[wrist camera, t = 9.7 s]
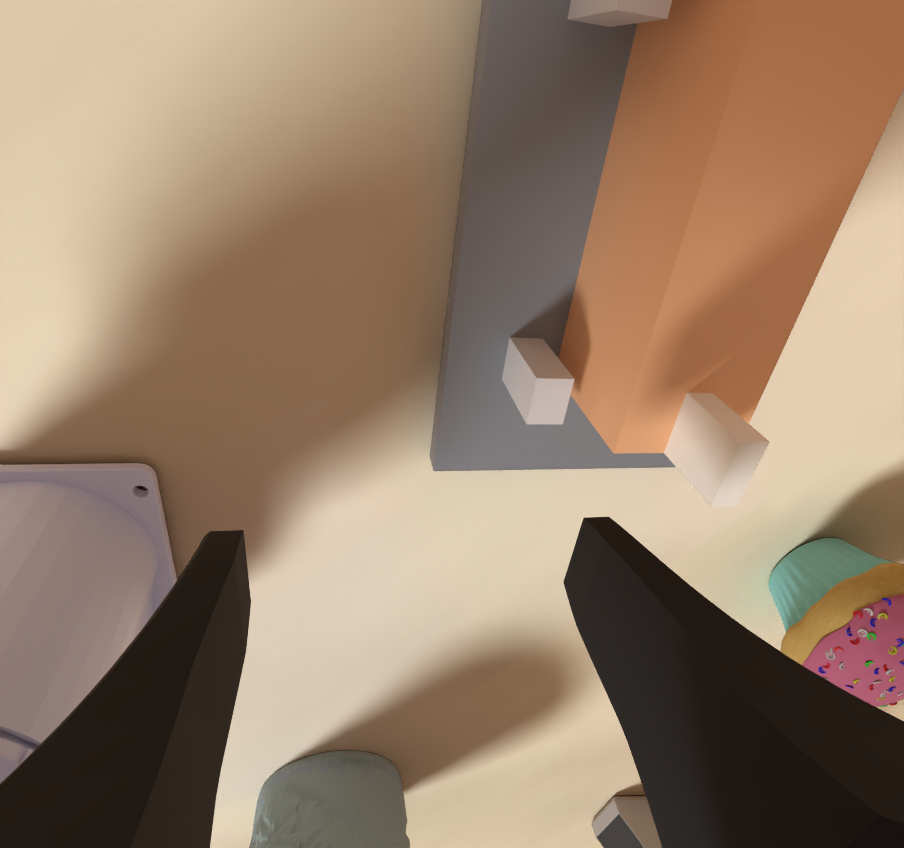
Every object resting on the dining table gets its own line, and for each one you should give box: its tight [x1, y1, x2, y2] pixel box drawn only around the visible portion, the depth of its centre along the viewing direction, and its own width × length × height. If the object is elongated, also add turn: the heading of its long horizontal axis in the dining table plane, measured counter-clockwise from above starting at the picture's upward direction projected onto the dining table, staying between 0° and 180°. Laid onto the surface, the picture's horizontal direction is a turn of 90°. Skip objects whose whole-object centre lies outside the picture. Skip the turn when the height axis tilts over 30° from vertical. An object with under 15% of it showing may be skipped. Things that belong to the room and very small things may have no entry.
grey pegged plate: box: [430, 0, 675, 471], centre depth 17 cm, size 20×12×4 cm, turn 173°
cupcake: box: [769, 538, 904, 707], centre depth 26 cm, size 9×8×12 cm
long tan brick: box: [558, 0, 904, 507], centre depth 14 cm, size 12×4×7 cm, turn 173°
